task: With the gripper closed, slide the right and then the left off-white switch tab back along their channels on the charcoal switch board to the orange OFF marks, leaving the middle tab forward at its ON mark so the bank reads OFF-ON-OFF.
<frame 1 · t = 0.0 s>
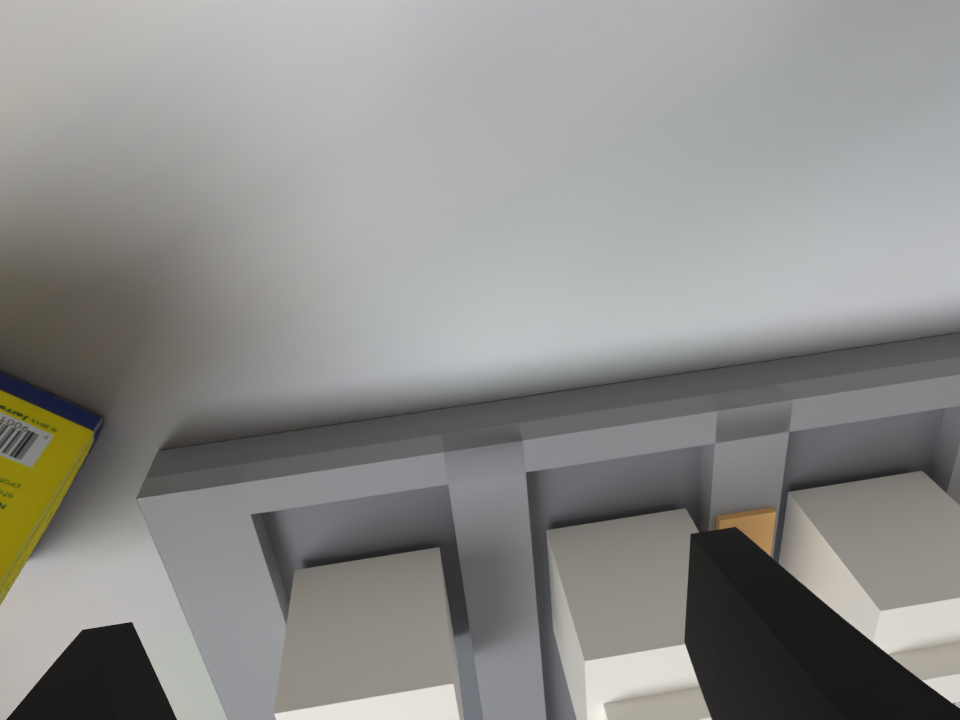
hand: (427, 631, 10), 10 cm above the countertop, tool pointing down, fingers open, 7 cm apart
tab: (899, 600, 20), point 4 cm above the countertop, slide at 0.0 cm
middle tab: (644, 642, 19), point 4 cm above the countertop, slide at 0.0 cm
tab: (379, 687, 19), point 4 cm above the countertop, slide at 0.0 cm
switch board: (604, 594, 24), on the countertop
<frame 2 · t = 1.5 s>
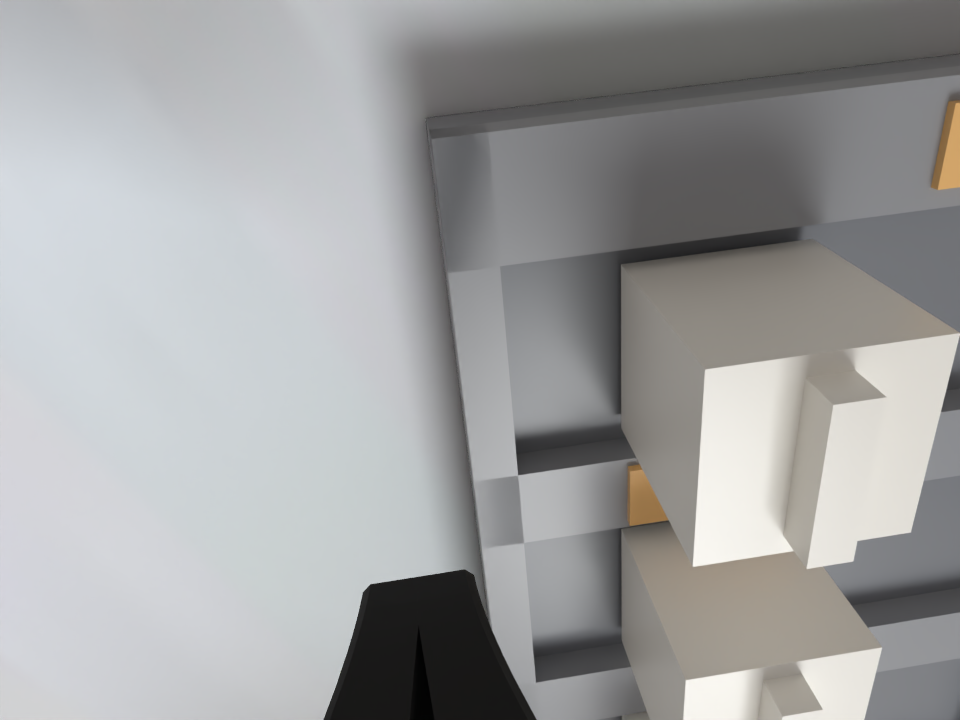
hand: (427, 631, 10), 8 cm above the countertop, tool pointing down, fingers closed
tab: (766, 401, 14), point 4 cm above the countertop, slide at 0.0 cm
middle tab: (738, 657, 17), point 4 cm above the countertop, slide at 0.0 cm
switch board: (762, 522, 21), on the countertop
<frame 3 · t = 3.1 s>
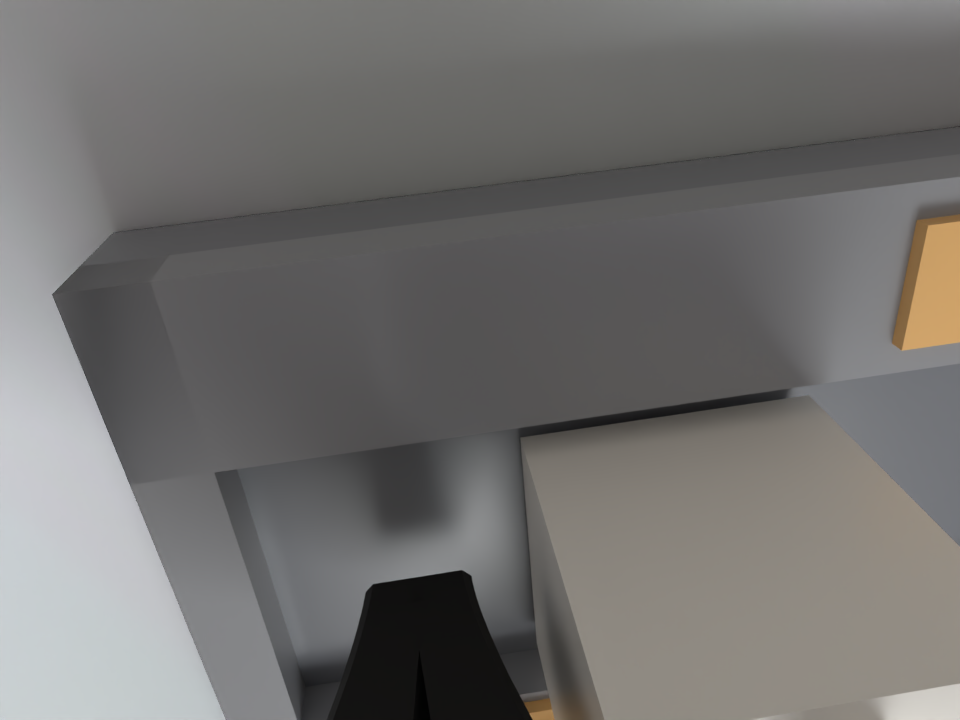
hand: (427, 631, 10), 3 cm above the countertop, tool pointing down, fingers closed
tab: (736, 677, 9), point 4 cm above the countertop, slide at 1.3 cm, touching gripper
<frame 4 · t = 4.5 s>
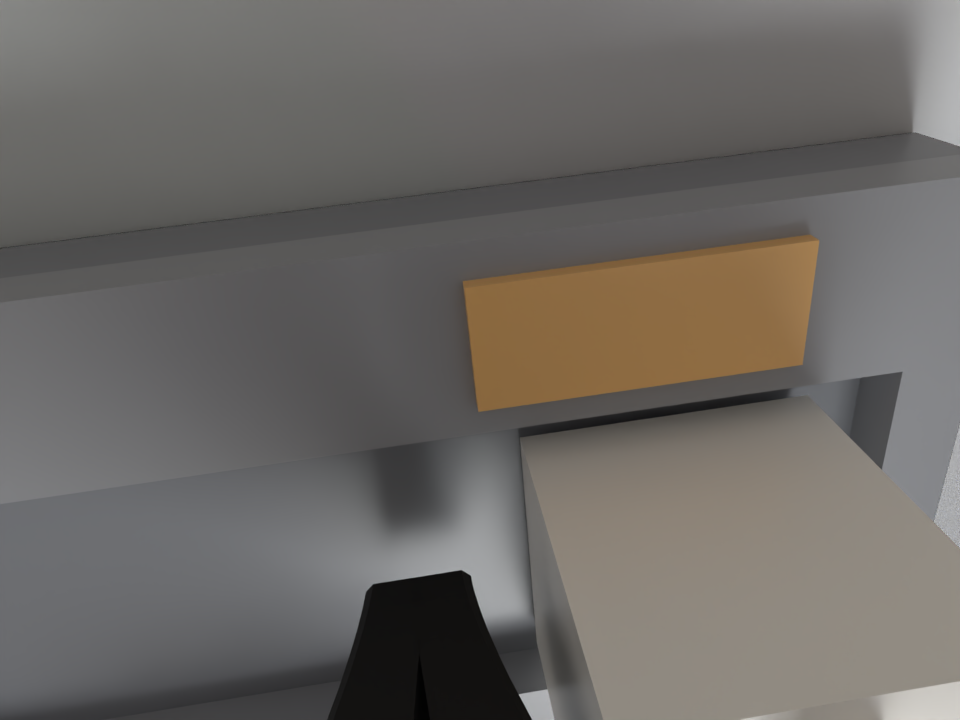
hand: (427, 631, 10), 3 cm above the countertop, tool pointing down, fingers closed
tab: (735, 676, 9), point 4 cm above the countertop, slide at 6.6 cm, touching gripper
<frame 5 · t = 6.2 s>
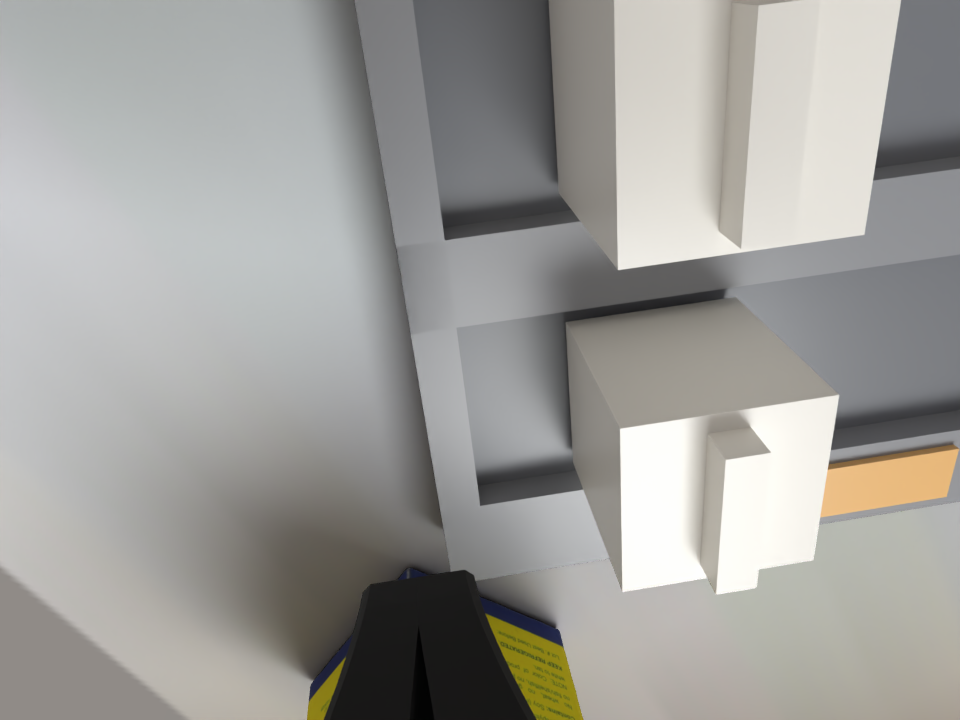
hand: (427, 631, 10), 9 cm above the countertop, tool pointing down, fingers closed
middle tab: (704, 101, 12), point 4 cm above the countertop, slide at 0.0 cm
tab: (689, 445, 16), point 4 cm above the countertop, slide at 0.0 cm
supplement box: (435, 649, 24), on the countertop
switch board: (743, 55, 16), on the countertop
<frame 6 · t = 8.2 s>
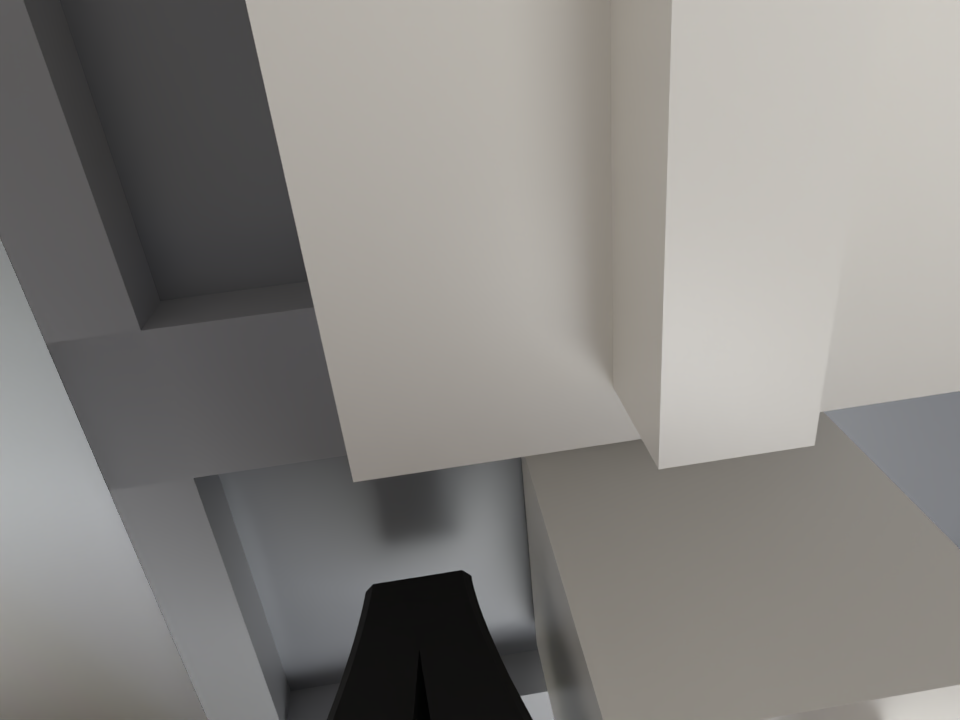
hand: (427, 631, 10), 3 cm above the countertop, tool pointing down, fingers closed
middle tab: (595, 55, 5), point 4 cm above the countertop, slide at 0.0 cm
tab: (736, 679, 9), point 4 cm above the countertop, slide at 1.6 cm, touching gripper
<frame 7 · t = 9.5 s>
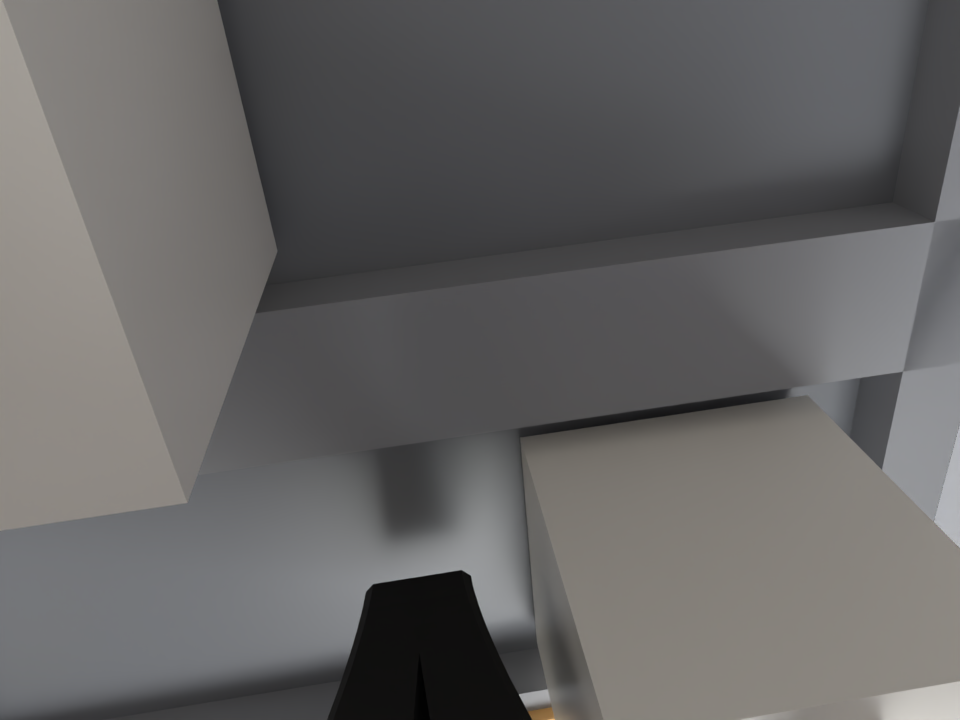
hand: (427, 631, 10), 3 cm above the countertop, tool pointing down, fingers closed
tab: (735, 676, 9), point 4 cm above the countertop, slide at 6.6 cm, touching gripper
switch board: (297, 40, 9), on the countertop
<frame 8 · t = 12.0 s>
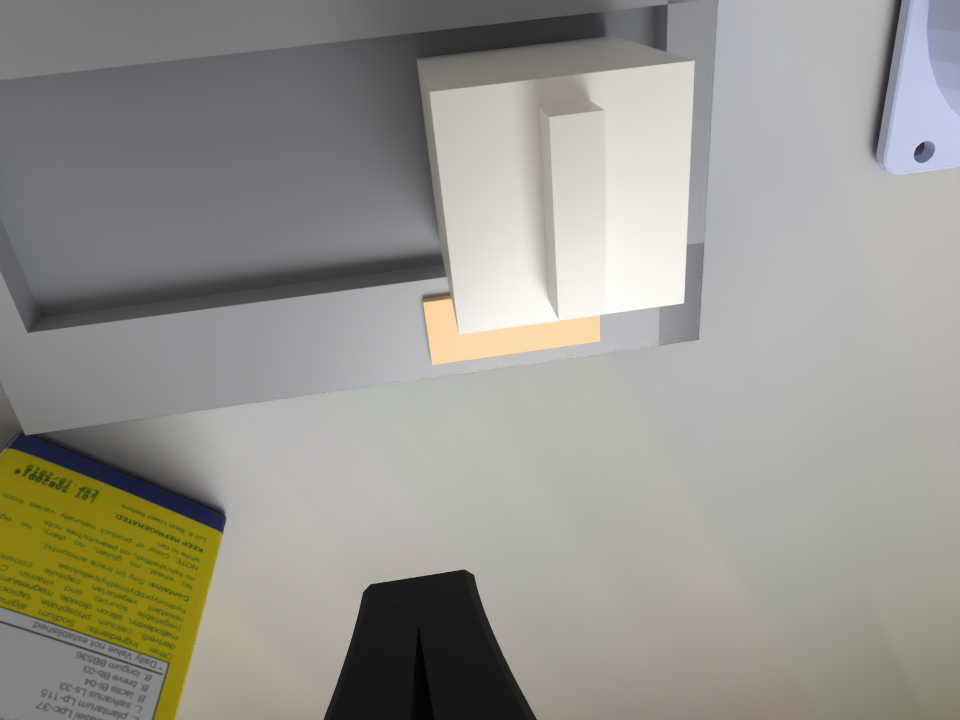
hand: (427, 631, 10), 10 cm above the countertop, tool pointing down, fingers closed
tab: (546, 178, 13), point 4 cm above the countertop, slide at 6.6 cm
supplement box: (90, 538, 21), on the countertop
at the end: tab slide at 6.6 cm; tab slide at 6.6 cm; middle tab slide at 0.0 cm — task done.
